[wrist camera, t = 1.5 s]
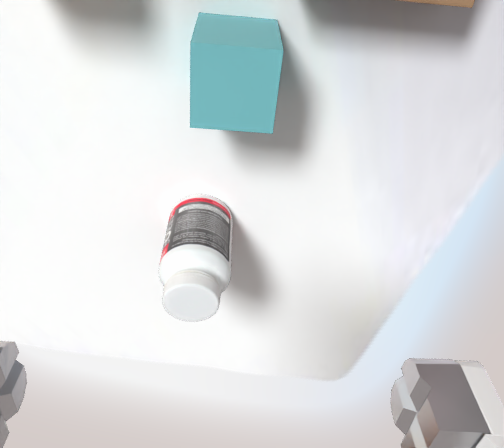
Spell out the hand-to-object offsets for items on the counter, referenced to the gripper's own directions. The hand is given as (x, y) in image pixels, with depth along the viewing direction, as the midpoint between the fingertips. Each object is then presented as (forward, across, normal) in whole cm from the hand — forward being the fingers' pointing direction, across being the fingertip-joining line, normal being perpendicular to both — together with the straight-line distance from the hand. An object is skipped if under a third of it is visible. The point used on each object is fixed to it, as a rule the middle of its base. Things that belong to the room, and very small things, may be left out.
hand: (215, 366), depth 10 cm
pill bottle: (+26, +2, +15) cm, 30 cm away
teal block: (+25, 0, +1) cm, 25 cm away
